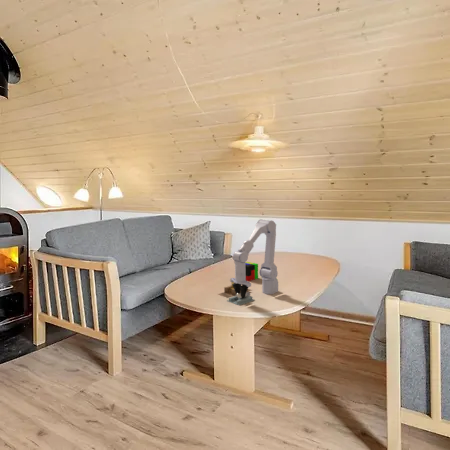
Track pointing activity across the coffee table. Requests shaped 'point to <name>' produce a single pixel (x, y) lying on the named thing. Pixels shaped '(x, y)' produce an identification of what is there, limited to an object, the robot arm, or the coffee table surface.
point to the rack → (241, 301)
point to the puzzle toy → (251, 271)
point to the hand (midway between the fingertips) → (240, 296)
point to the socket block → (228, 293)
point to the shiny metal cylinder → (238, 295)
